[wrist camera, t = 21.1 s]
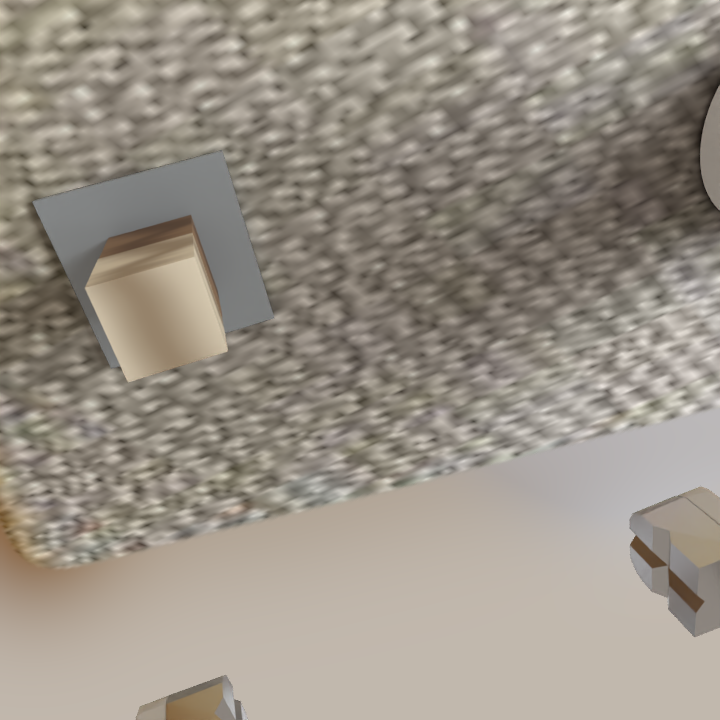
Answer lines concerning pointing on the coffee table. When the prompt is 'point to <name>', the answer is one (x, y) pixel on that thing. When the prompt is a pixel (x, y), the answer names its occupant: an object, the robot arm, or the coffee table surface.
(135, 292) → the beech cube
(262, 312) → the pad
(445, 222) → the coffee table surface
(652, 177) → the coffee table surface
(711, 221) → the coffee table surface
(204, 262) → the walnut cube
